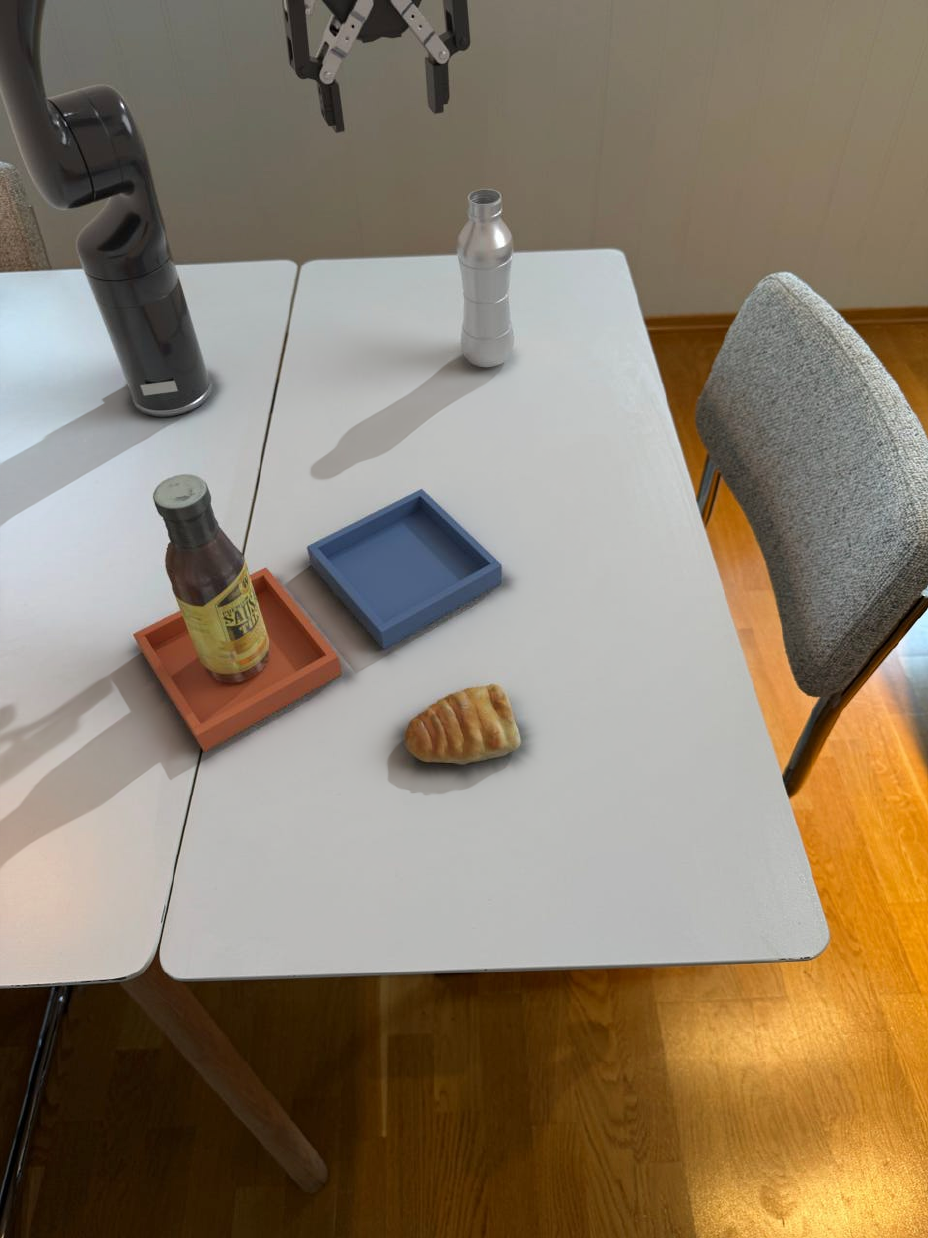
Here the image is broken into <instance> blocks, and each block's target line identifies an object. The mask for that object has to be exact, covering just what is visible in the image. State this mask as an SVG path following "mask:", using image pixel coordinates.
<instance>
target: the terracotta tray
mask: <svg viewBox="0 0 928 1238" xmlns="http://www.w3.org/2000/svg"><path fill="white" fill-rule="evenodd" d="M249 575H250V578H251V582H252V585H253V588H254V591H255V595H256V598H257V601H258V604H259V608H260V611H261V614H262V618H263V621H264V624H265V628H266V631H267V634H268V638H269V661H268V662H267V664H266V666H265V668H263V669H262V671H261V672H260V673H259V674H257V675H256V676H254V677H253V678H251V679H249V680H247V681H245V682H242V683H236V684H233V683H231V684H228V683H222V682H219V681H217V680H215V679H213V678H212V677H211V676H209V674H208V673H207V672H206V669H205V666H204V665H203V664H202V663H201V661H200V659H199V657H198V654H197V651H196V649H195V646H194V644H193V641H192V639H191V636H190V634H189V631H188V628H187V626H186V623H185V621H184V618H183V616H182V613H181V611H180V610H178V611H176V612H174V613H172V614H170V615H168V616H166V617H164V618H162V619H160V620H158V621H156V622H154V623H152V624H150V625H149V626H148V625H147V626H146V627H144V628H142V629H140V630H138V631H136V632H134V633H133V634H132V635H133V637H134V640H135V642H136V644H137V645H138V647H139V650H140V651H141V653H142V655H143V656H144V658H145V659H146V661H147V663H148V664H149V666H150V668H151V669H152V670H153V672H154V674H155V676H156V677H157V679H158V681H159V682H160V683H161V686H162V687H163V689H164V690H165V692H166V693H167V694H168V697H169V698H170V700H171V702H172V703H173V705H174V706H175V708H176V710H177V712H178V713H179V714H180V716H181V717H182V719H183V721H184V722H185V723H186V724H185V725H186V726H187V728H188V729H189V730H190V732H191V733H192V735H193V737H194V738H195V740H196V742H197V743H198V745H199V746H200V748H201V750H202V751H203V752H204V753H205V752H208V751H209V750H211V749H213V748H214V747H216V746H218V745H220V744H222V743H223V742H225V741H226V740H229V739H230V738H232V737H235V735H237V734H239V733H241V732H242V731H244V730H246V729H248V728H250V727H251V726H253V725H255V724H256V723H258V722H260V721H262V720H264V719H265V718H267V717H269V716H271V715H272V714H274V713H275V712H278V711H279V710H281V709H283V708H284V707H285V708H286V706H288V705H290V704H292V703H293V702H295V701H297V700H299V699H301V698H302V697H304V696H305V695H307V694H309V693H311V692H312V691H315V690H316V689H318V688H320V687H321V686H323V685H325V684H327V683H328V682H330V681H332V680H334V679H336V678H337V677H339V676H340V675H342V674H343V672H342V666H341V662H340V658H339V656H338V654H337V652H335V651H334V649H333V648H332V647H331V645H330V644H329V643H328V642H327V640H326V639H325V638H324V637H323V635H322V634H321V632H319V631H318V630H317V627H315V626H314V624H313V623H312V622H311V621H310V619H309V618H308V617H307V616H306V614H305V613H304V612H303V610H301V608H300V607H299V605H298V604H296V603H297V602H295V601H294V600H293V598H292V597H291V596H290V595H289V593H288V592H287V591H286V590H285V588H284V587H283V586H282V585H281V583H280V582H279V581H278V580H277V578H276V576H274V575H273V573H272V572H271V571H270V570H269V568H268V567H266V566H265V567H263V568H262V569H259V570H258V571H255V572H253V573H251V574H249Z"/></svg>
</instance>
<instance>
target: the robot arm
mask: <svg viewBox="0 0 928 1238" xmlns="http://www.w3.org/2000/svg"><path fill="white" fill-rule="evenodd" d="M321 1H322V3H323V4H324V5H325V6H326V8H327V9H328V10H329V11H330V12H331V16H330V17H329V20H328V21H327V25H326V26H325V29H324V31H323V34H322V41H321V42H320V45H319V47H318V50H317V52H316V54H315V56H312V55H310V44H309V35H308V26H307V24H308V23H307V19H310V18H311V17H312V16H313V14H314V10H315V9H314V8H315V4H316V3H317V2H318V0H281V6H282V14H283V15H282V16H283V22H284V23H283V24H284V32H285V42H286V49H287V59H288V64H289V66H290V67H291V69H293V71H294V73H295V75H296V76H297V78H298V79H300V80H307V79H309V80H314V81H315V82H316V87H317V95H318V100H319V108H320V114H321V116H322V118H323V120H324V121H325V123H326V124H327V126H328V127H331V128H332V130H333V131H334V132H335V133H336V134H339V133H344V132H345V131H346V130H345V129H346V128H345V120H344V114H343V106H342V105H343V104H342V98H341V97H342V96H341V91H340V83H339V82H338V80H337V79H336V77H337V74H338V72H339V70H340V68H341V66H342V64H343V61H344V60H345V59H346V58H347V57H348V56H349V55H350V53H351V51H352V48H353V47H354V45H355V42H356V40H357V41H360V42H362V44H368V43H373V42H375V41H377V40H379V39H381V38H387V39H397V38H402V37H403V36H402V35H403V34H404V33H405V32H406V31H407V30H410V32H411V33H412V34H413V36H414V37H415V38H416V39H417V41H418V42H419V43H420V44H421V45H422V47H423V48H424V49H425V51H426V52H427V56H425V57H424V68H425V82H426V83H425V84H426V97H427V98H426V99H427V106H428V108H429V110H430V111H431V112H432V113H433V114H434V115H437V114H443V113H444V111H445V110H444V108H445V106H444V105H448V104H449V101H450V98H451V97H450V95H451V94H450V77H449V76H450V74H449V62H450V59H451V57H453V56H454V55H455V54H457V53H458V52H465V51H467V50H468V49H469V48H470V45H471V31H470V30H471V29H470V19H469V8H468V7H469V5H468V0H442V7H443V15H444V25H445V27H444V28H445V31H444V32H443V33H441V34H440V35H438V34H437V33H436V31H435V30H434V28H433V27H432V26H431V24H430V23H429V22H428V20H427V19H426V18H425V17H424V16H423V14H422V13H421V12H420V10H419V8H420V5H421V3H422V1H423V0H321ZM46 3H47V0H0V95H1V99H2V102H3V105H4V108H5V112H6V114H7V117H8V120H9V124H10V126H11V130H12V133H13V135H14V136H13V137H14V138H15V142H16V145H17V147H18V150H19V154H20V156H21V158H22V160H23V163H24V165H25V167H26V170H27V173H28V174H29V176H30V178H31V180H32V183H33V185H34V186H35V188H36V189H37V191H38V193H39V195H40V196H41V197H42V198H43V199H44V201H45V202H46V203H47V204H48V205H49V206H50V207H52V208H53V209H55V210H59V211H72V210H74V209H79V208H81V207H85V206H88V205H91V204H94V203H97V202H100V201H103V200H106V199H107V201H106V203H105V205H104V206H103V207H102V209H101V210H100V211H99V213H98V214H97V215H96V216H95V217H94V218H92V219H91V220H90V221H89V222H88V223H87V224H86V225H85V226H84V227H82V229H81V230H80V232H79V233H78V234H77V237H76V241H75V249H76V253H77V258H78V259H79V262H80V264H81V267H82V269H83V272H84V275H85V278H86V280H87V283H88V285H89V288H90V290H91V293H92V295H93V298H94V301H95V303H96V306H97V309H98V310H99V311H98V312H99V313H100V316H101V319H102V321H103V324H104V326H105V330H106V331H107V334H108V336H109V339H110V342H111V345H112V347H113V349H114V352H115V355H116V357H117V360H118V362H119V365H120V368H121V370H122V373H123V375H124V378H125V381H126V384H127V386H128V389H129V392H130V395H131V399H132V402H133V404H134V407H135V408H136V409H137V410H138V411H139V412H141V413H144V414H145V415H149V416H152V417H175V416H178V415H182V414H186V413H188V412H191V411H193V410H195V409H196V408H199V407H200V406H201V405H203V404H204V403H205V401H207V399H208V398H209V397H210V396H211V394H212V391H213V384H212V380H211V377H210V374H209V373H208V370H207V367H206V363H205V360H204V356H203V352H202V350H201V345H200V343H199V339H198V336H197V333H196V330H195V326H194V323H193V320H192V317H191V313H190V310H189V306H188V303H187V300H186V296H185V293H184V290H183V287H182V284H181V283H182V282H181V280H180V276H179V274H178V270H177V267H176V264H175V261H174V257H173V254H172V250H171V247H170V244H169V241H168V236H167V228H166V224H165V220H164V216H163V213H162V209H161V205H160V202H159V198H158V194H157V191H156V185H155V182H154V181H155V180H154V178H153V173H152V169H151V165H150V160H149V157H148V152H147V148H146V145H145V142H144V139H143V138H144V137H143V135H142V133H141V129H140V126H139V124H138V121H137V119H136V117H135V115H134V113H133V111H132V109H131V107H130V105H129V104H128V101H126V99H125V98H124V96H123V95H122V94H121V93H120V91H118V90H117V89H116V88H114V86H111V85H109V84H104V83H101V84H93V85H89V86H86V87H82V88H78V89H75V90H72V91H68V92H65V93H61V94H58V95H53V96H50V97H47V94H46V88H45V83H44V76H43V70H42V69H43V68H42V59H41V57H42V56H41V55H42V53H41V42H42V41H41V39H42V38H41V37H42V25H43V19H44V14H45V7H46Z"/></svg>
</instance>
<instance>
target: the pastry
mask: <svg viewBox="0 0 928 1238" xmlns="http://www.w3.org/2000/svg"><path fill="white" fill-rule="evenodd" d="M404 743H405V747H406V750H408V752H409V753H410V754H411V755H412V756H414V757H415V758H417V759H418V760H419V761H422V762H424V763H437V764H442V763H446V764H451V763H452V764H455V765H464V766H465V765H467V764H471V763H477V762H483V761H487V760H490V759H494V758H495V759H496V758H502V757H505V756H506V755H508V754H510V753H513V752H514V751H516V750H518V749H519V748H520V746H521V744H522V740H521V735H520V731H519V728H518V726H517V723H516V720H515V716H514V712H513V710H512V706H511V703H510V700H509V697H508V695H507V693H506V692H505V690H504V688H502V686H501V685H499V684H495V683H490V684H489V685H483V686H471V687H467V688H464V689H463V690H460V691H455V692H453V693H450V694H448V695H446V696H444V697H442V698H440V699H438V700H437V701H436V702H434V703H433V704H431V705H429V706H428V707H427V708H426V709H424V711H422V712H420V713H418V714H417V715H416V716H415V717H413V718H412V719H411V720H410V721H409V723H408V726H407V727H406V730H405V734H404Z"/></svg>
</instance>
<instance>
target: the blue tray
mask: <svg viewBox="0 0 928 1238" xmlns="http://www.w3.org/2000/svg"><path fill="white" fill-rule="evenodd" d="M306 550H307V554H308V557H309V563H310V565H311V567H312V568H313V569H314V570H315V571H316V572H317V573H318V575H319V576H320V577H321V578H322V579H323V580H324V582H325V583H326V584H327V585H328V586H329V587H330V589H331V590H332V592H334V593H335V595H336V596H337V597H338V598H339V600H340V601H341V602H342V603H343V604H344V605H345V606H346V608H347V609H348V610H349V611H350V612H351V613H352V615H353V617H355V618H356V619H357V620H358V622H359V623H360V624H361V625H362V627H364V629H365V630H366V631H367V632H368V633H369V634H370V636H371V637H372V638H373V639H374V641H376V643H377V644H378V645H379V647H381V648H382V650H383V651H384V650H387V649H388V648H390V647H392V646H394V645H395V644H397V643H399V642H400V641H402V640H404V639H406V638H407V637H409V636H411V635H413V634H414V633H417V632H419V631H420V630H422V629H423V628H425V627H427V626H428V625H430V624H432V623H434V622H436V621H437V620H439V619H441V618H443V617H444V616H446V615H448V614H450V613H451V612H454V611H455V610H457V609H458V608H461V607H462V606H464V605H465V604H467V603H469V602H471V601H473V600H474V599H476V598H479V596H481V595H483V594H486V593H487V592H488V591H490V590H492V589H493V588H495V587H497V586H499V585H501V584H502V583H503V577H502V576H503V573H502V571H503V570H502V569H503V568H502V567H503V565H502V563H500V562H499V560H497V559H496V558H495V557H494V555H492V554H491V553H490V552H489V551H488V550H487V549H486V548H485V547H484V546H483V545H481V543H480V542H479V541H477V540H476V539H475V538H474V537H473V536H472V535H471V534H470V533H469V531H467V530H466V528H464V527H463V526H461V524H460V523H458V522H457V520H455V519H454V517H453V516H451V515H450V514H449V513H448V512H447V511H446V509H444V508H443V507H441V505H440V504H439V503H437V501H436V500H435V499H433V498H432V497H431V496H430V495H429V494H428V493H427V491H425V490H424V489H423V488H420V489H418V490H416V491H414V492H412V493H410V494H408V495H406V496H404V497H403V498H400V499H398V500H396V501H394V502H392V503H390V504H389V505H386V506H385V507H382V508H380V509H378V510H377V511H374V512H373V513H371V514H368V515H367V516H364V517H362V518H361V519H359V520H356V521H354V522H353V523H351V524H348V525H347V526H345V527H343V528H341V529H339V530H337V531H334V532H332V533H331V534H329V535H326V536H324V537H323V538H321V539H319V540H317V541H315V542H313V543H311V544H309V545H307V546H306Z"/></svg>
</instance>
